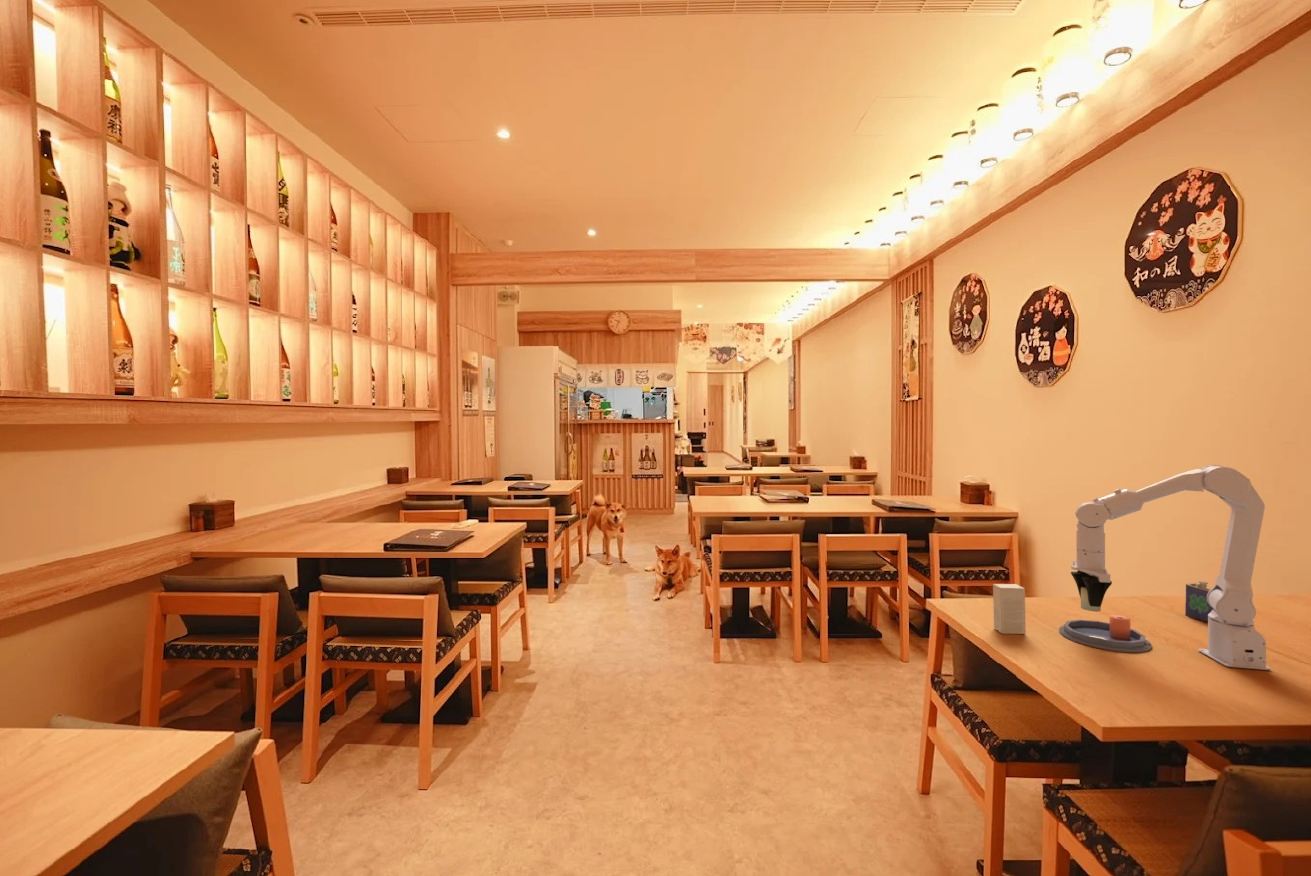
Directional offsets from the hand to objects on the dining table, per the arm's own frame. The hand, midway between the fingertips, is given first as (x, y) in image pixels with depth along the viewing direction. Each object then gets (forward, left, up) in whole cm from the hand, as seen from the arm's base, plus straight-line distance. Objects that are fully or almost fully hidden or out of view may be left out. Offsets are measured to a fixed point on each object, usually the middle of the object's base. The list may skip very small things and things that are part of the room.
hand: (1090, 603), depth 140 cm
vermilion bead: (-1, -6, -8) cm, 10 cm away
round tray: (-1, -2, -8) cm, 9 cm away
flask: (+21, -35, -9) cm, 42 cm away
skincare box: (-1, +19, -9) cm, 20 cm away
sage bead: (0, 0, -1) cm, 1 cm away
